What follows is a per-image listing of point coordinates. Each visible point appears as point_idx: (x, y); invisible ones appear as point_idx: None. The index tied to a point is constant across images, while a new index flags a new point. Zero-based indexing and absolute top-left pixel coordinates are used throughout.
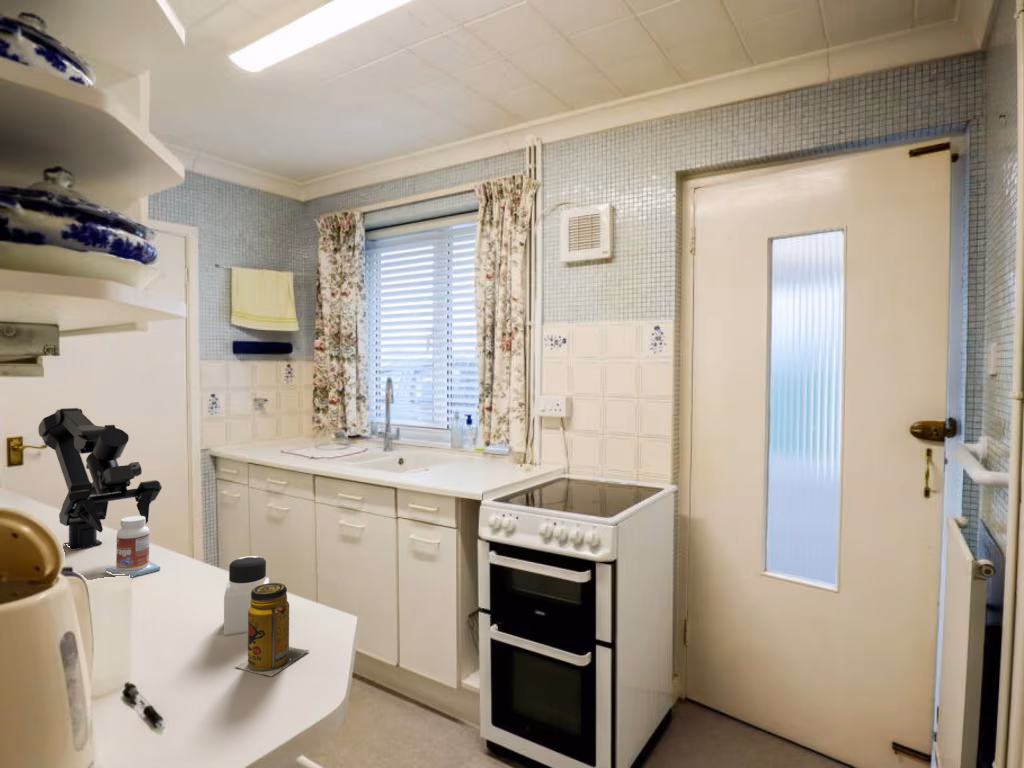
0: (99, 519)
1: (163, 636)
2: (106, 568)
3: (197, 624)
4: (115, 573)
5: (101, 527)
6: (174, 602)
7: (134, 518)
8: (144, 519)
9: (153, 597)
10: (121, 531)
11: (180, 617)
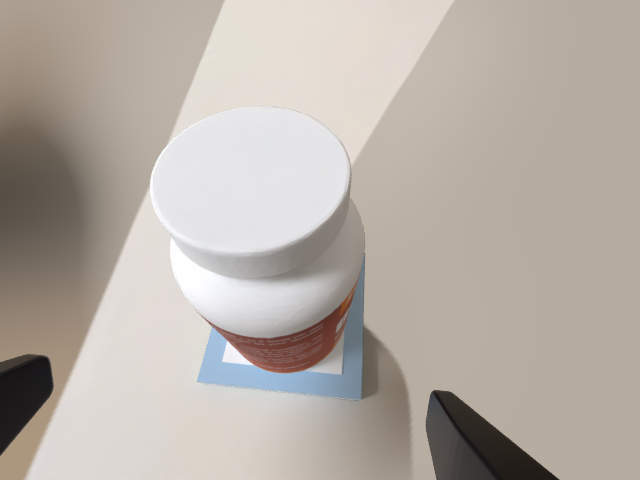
0: (503, 474)
1: (416, 10)
2: (358, 397)
3: (368, 8)
4: (360, 299)
5: (448, 401)
6: (347, 70)
7: (245, 160)
8: (207, 123)
9: (360, 108)
10: (350, 216)
11: (372, 31)
